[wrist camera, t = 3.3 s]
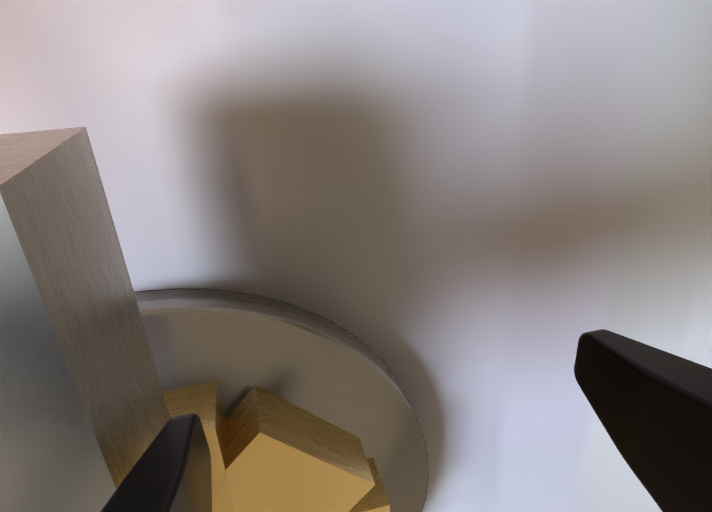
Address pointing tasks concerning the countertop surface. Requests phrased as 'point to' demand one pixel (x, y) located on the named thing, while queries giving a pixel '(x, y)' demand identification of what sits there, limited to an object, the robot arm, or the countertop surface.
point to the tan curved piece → (124, 366)
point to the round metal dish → (289, 372)
